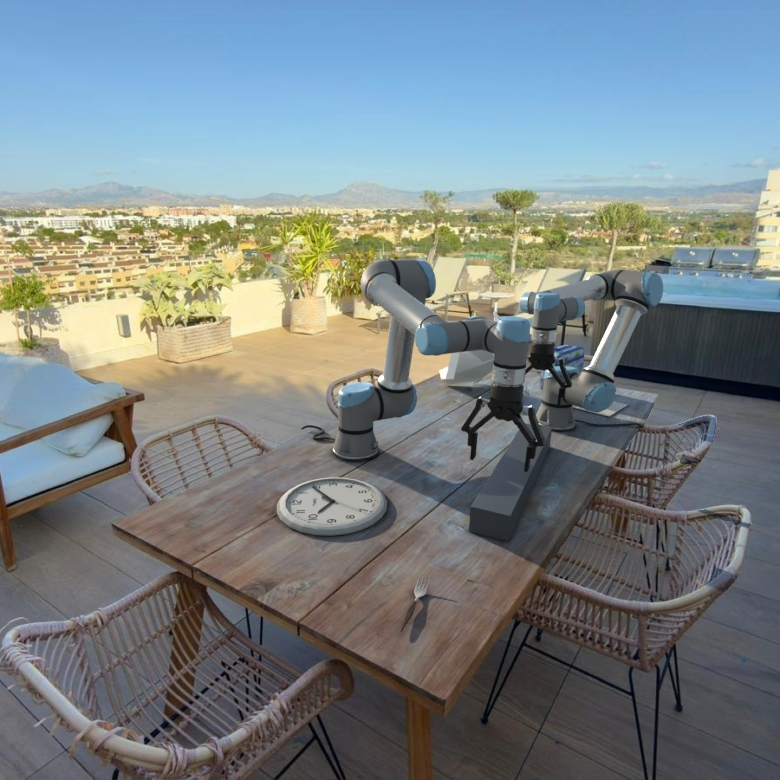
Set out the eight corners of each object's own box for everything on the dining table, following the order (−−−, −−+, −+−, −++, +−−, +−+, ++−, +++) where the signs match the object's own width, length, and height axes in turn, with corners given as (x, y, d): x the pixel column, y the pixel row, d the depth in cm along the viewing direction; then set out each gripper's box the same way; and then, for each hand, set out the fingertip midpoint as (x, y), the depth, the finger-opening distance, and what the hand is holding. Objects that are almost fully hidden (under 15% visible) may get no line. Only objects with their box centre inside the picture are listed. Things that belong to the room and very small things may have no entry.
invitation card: (608, 416, 214) (573, 407, 224) (608, 416, 214) (573, 408, 224) (628, 404, 229) (594, 396, 238) (628, 405, 229) (594, 397, 238)
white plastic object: (461, 429, 252) (437, 405, 227) (444, 352, 274) (420, 323, 250) (535, 404, 240) (518, 377, 215) (510, 326, 262) (492, 293, 237)
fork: (394, 632, 98) (394, 623, 98) (419, 581, 113) (419, 573, 112) (407, 636, 97) (407, 627, 97) (430, 584, 112) (431, 576, 111)
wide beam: (521, 441, 188) (523, 423, 186) (549, 446, 184) (552, 427, 182) (468, 531, 132) (470, 506, 130) (508, 541, 128) (510, 516, 126)
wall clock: (392, 527, 129) (268, 531, 127) (391, 533, 130) (269, 537, 127) (383, 473, 158) (282, 475, 155) (383, 478, 158) (282, 480, 156)
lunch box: (556, 397, 237) (562, 352, 231) (535, 392, 244) (540, 348, 238) (583, 386, 255) (589, 344, 248) (562, 381, 262) (567, 340, 256)
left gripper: (452, 378, 125) (447, 458, 132) (559, 395, 116) (548, 481, 122) (461, 371, 132) (456, 447, 139) (564, 386, 122) (552, 468, 129)
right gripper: (502, 340, 170) (498, 402, 177) (583, 347, 160) (575, 412, 167) (507, 336, 177) (503, 395, 183) (585, 342, 167) (578, 405, 173)
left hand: (499, 463), depth 131 cm, fingers open, 13 cm apart
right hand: (537, 403), depth 175 cm, fingers open, 13 cm apart
